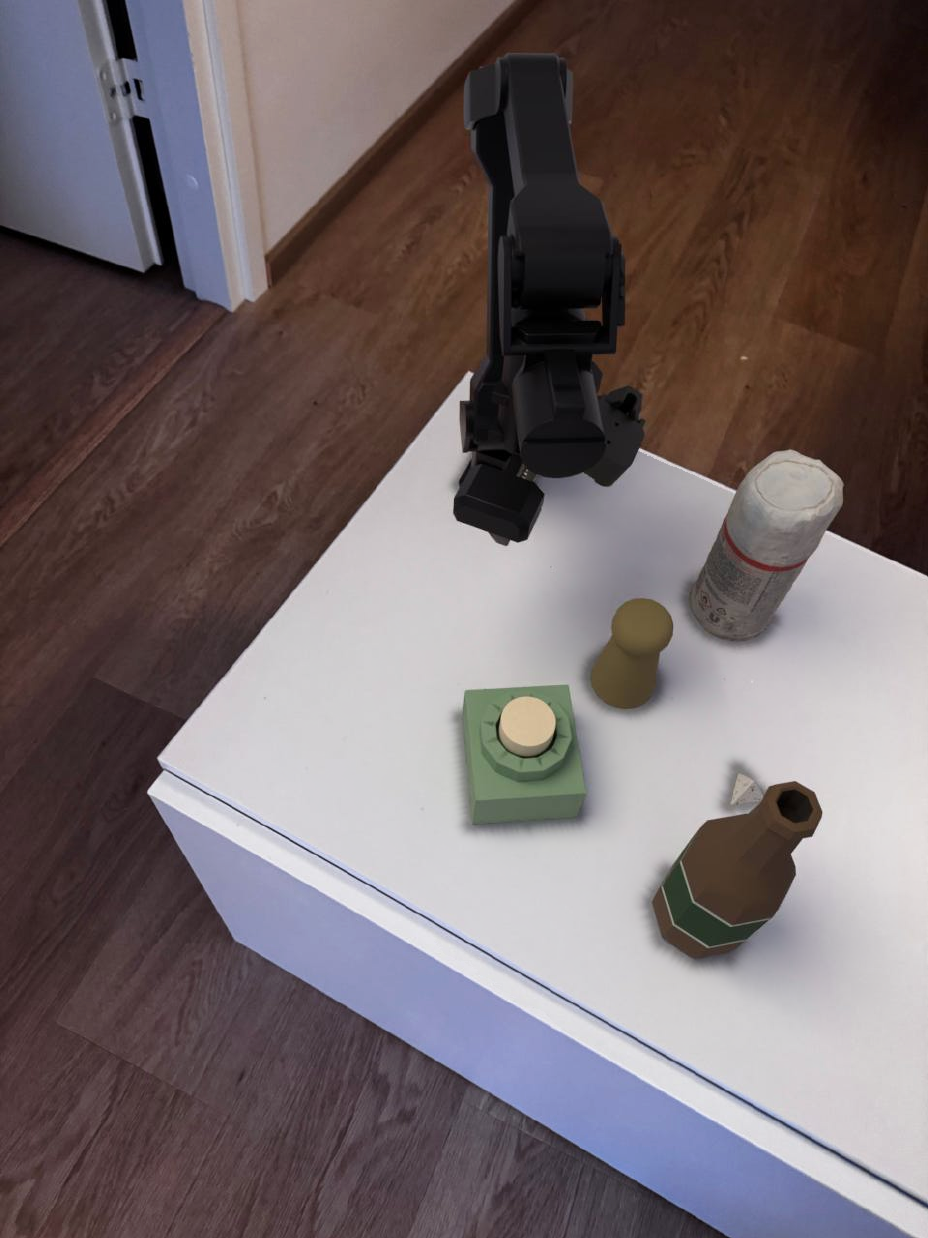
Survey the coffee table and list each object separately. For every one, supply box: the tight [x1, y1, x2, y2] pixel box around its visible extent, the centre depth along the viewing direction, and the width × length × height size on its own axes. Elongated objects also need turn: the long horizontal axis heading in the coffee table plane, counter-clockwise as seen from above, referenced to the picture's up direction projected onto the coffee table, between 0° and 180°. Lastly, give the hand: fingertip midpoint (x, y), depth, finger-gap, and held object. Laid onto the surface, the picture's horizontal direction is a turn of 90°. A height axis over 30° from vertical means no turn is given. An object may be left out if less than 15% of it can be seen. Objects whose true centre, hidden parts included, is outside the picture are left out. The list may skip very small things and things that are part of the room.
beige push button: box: [499, 697, 556, 757], centre depth 78 cm, size 4×4×2 cm
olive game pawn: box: [589, 597, 674, 710], centre depth 85 cm, size 6×6×11 cm
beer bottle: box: [651, 780, 823, 960], centre depth 69 cm, size 8×8×24 cm
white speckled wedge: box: [730, 772, 764, 806], centre depth 85 cm, size 4×3×3 cm
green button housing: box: [461, 684, 587, 825], centre depth 82 cm, size 10×9×8 cm
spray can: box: [688, 449, 845, 642], centre depth 86 cm, size 8×8×20 cm
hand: (521, 504), depth 85 cm, fingers open, 9 cm apart
